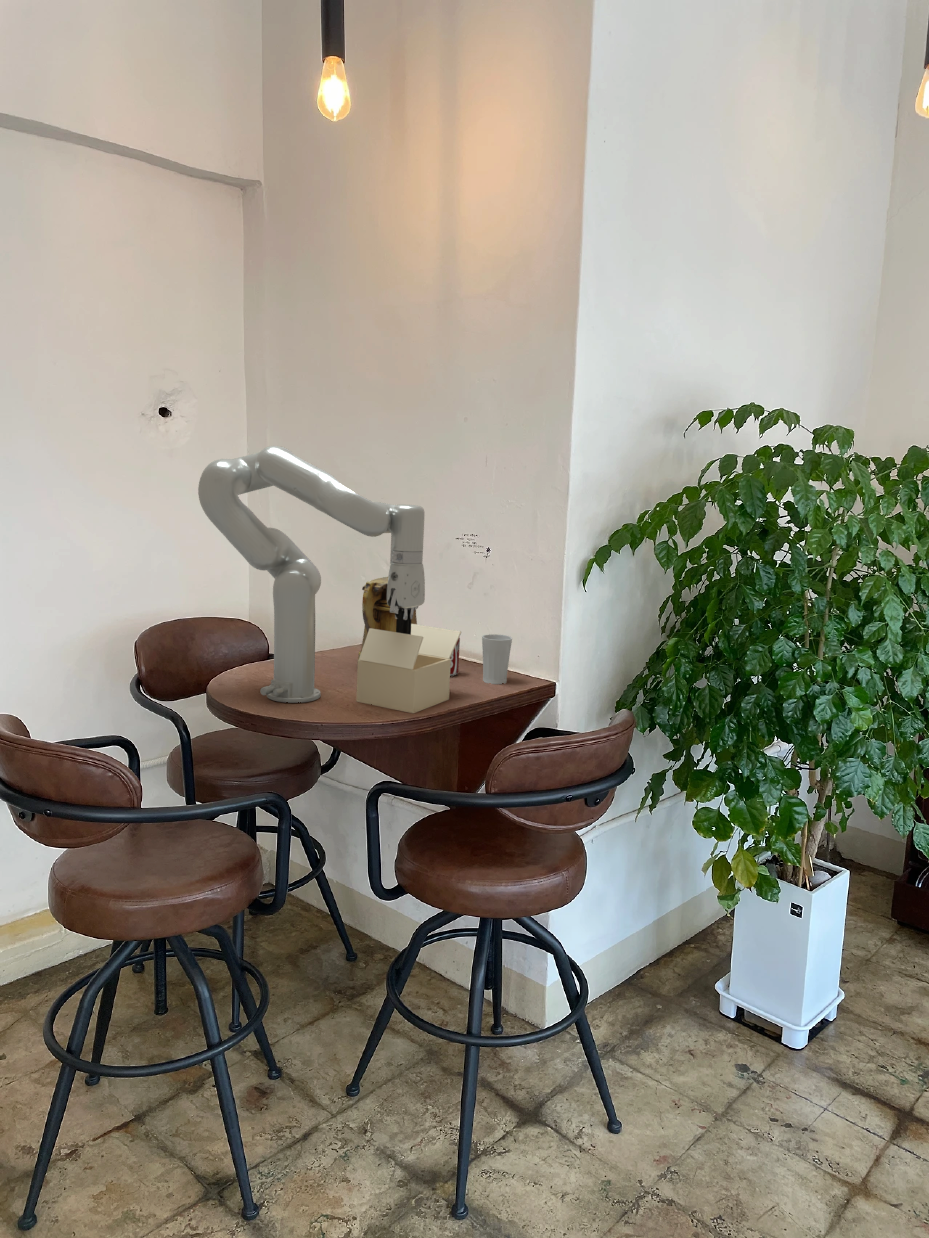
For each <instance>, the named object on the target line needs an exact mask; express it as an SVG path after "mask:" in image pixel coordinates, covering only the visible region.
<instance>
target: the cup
mask: <svg viewBox="0 0 929 1238" xmlns="http://www.w3.org/2000/svg"><path fill="white" fill-rule="evenodd" d="M512 643H513V637H512V636H509V635H504V634H499V633H498V634H495V633H494V634H492V633H491V634H490V633H489V634H483V635H482V636H481V644H482V647H481V648H482V674H483V675H482V682H483V681H484V683H485V684H489V683H491V684H490V685H503V684H502V683H504V684H507V681H508V678H507V677H508V670H509V663H510V656H511V651H512Z"/></svg>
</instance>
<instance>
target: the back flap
mask: <svg viewBox="0 0 929 1238" xmlns="http://www.w3.org/2000/svg"><path fill="white" fill-rule="evenodd" d="M461 634H462V631H461V630H455V629H448V628H441V627H435V626H429V625H422V624H418V623H417V624H411V635H416V636H422V637H423V640H422V643H421V647H420V650H419V653H418V654H423V655H429V656H435V657H441V658H447V659H450V657H451V655H452V653H453V650H454V648H455V646H456V644H457V641H458V639H459V637H461Z"/></svg>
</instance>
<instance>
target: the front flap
mask: <svg viewBox="0 0 929 1238" xmlns="http://www.w3.org/2000/svg"><path fill="white" fill-rule="evenodd" d="M422 640H423V637H422V636H416V635H410V634H403V633H397V632H391V631H384V630H378V629H372V628H369V631H368V634H367V637H366V640H365V643H364V646H363V649H362V651H361V650H360V651H361V654H360V657H359V660H361V661H367V662H372V663H378V664H383V665H389V666H394V667H400V668H405V669H411V670H413V668H414V665H415V662H416V659H417V656H418V653H419V650H420V647H421V643H422Z"/></svg>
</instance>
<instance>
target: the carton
mask: <svg viewBox="0 0 929 1238" xmlns="http://www.w3.org/2000/svg"><path fill="white" fill-rule="evenodd" d="M357 662H358V664H357V673H356V702H357V703H363V704H366V705H371V704H372V705H371V706H375V707H381V708H385V709H391V710H396V711H401V712H405V713H410V714H415V713H418V712H421V711H423V710H425V709H428V708H431V707H433V706H436V705H439V704H440V703H443V702H446V701H449V700H450V685H451V677H450V667H451V659H447V658H441V657H435V656H429V655H423V654H418V656H417V659H416V662H415V665H414V668H413V670H411V669H405V668H400V667H394V666H389V665H383V664H378V663H372V662H367V661H361V660H358V659H357Z"/></svg>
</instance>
